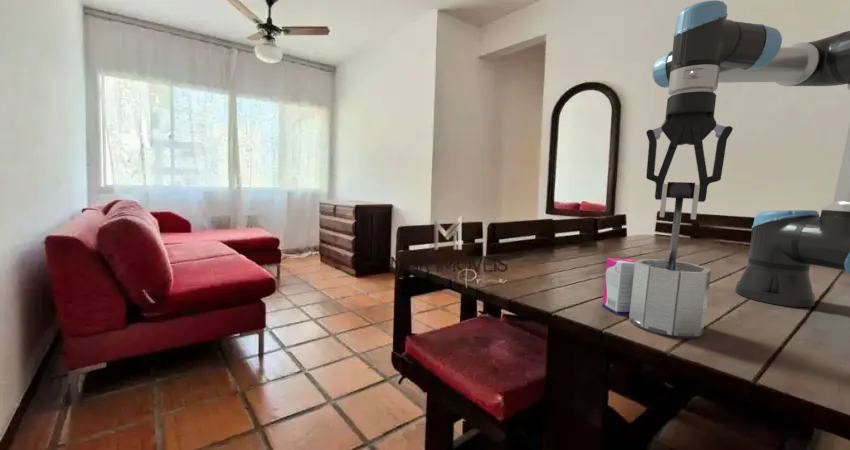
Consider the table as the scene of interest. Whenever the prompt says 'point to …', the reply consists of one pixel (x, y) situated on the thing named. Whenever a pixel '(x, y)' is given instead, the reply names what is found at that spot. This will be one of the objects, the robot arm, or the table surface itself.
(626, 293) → the supplement box
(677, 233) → the plunger
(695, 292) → the press body
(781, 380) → the table surface
